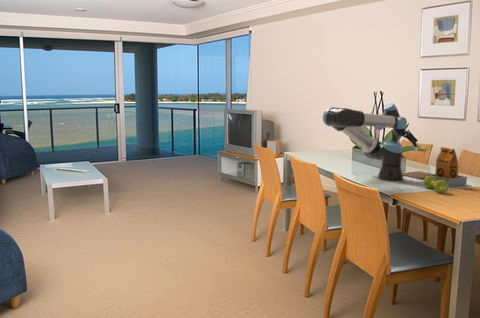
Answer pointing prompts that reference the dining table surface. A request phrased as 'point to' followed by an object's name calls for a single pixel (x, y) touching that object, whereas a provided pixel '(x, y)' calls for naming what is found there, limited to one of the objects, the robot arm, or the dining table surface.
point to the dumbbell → (436, 184)
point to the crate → (453, 180)
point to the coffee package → (447, 164)
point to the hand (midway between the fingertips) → (408, 149)
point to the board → (416, 174)
